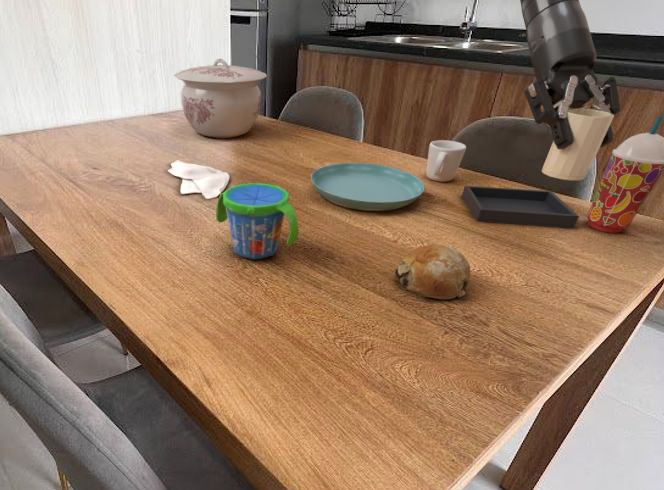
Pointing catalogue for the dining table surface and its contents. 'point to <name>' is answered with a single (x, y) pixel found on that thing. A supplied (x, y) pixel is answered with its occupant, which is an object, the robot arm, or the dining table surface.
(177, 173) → the cloth
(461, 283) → the bread roll
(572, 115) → the tumbler
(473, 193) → the tray
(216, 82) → the chamber pot
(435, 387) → the dining table surface
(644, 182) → the smoothie
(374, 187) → the teal plate
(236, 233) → the snack cup
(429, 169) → the cup
